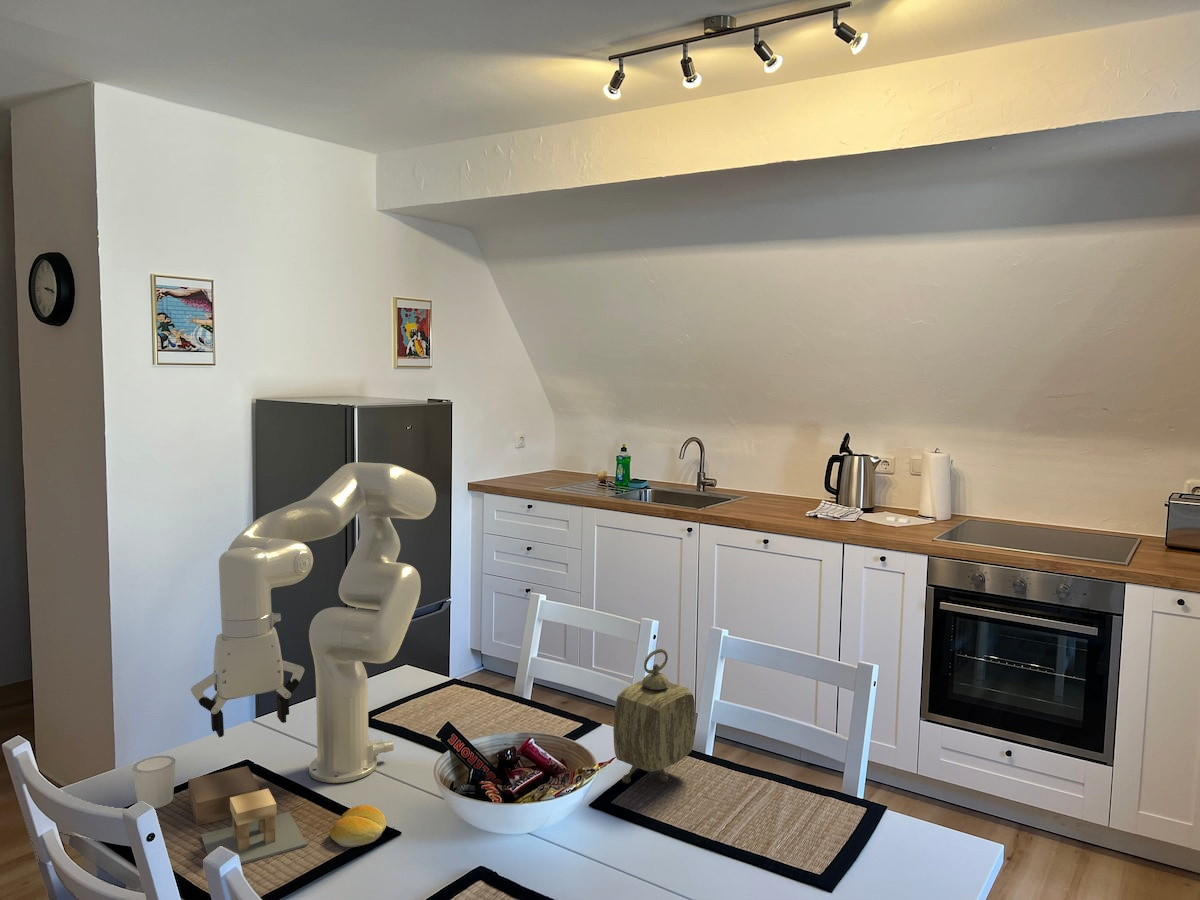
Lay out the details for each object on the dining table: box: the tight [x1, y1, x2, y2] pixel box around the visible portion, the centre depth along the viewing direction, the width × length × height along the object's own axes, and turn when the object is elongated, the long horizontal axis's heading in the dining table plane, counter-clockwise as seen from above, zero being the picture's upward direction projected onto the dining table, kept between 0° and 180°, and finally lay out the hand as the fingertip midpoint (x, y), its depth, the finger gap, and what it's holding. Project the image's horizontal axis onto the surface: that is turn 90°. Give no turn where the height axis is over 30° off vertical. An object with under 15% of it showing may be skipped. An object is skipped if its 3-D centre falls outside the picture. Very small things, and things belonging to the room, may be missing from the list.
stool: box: [230, 788, 278, 852], centre depth 141 cm, size 6×6×6 cm
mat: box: [200, 811, 308, 865], centre depth 141 cm, size 14×12×1 cm
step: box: [187, 765, 260, 826], centre depth 152 cm, size 10×10×4 cm
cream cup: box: [131, 755, 176, 809], centre depth 154 cm, size 7×7×7 cm
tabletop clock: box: [612, 648, 696, 784], centre depth 163 cm, size 14×9×25 cm, turn 139°
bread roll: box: [329, 804, 387, 848], centre depth 144 cm, size 8×9×4 cm
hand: (251, 726), depth 141 cm, fingers open, 9 cm apart
